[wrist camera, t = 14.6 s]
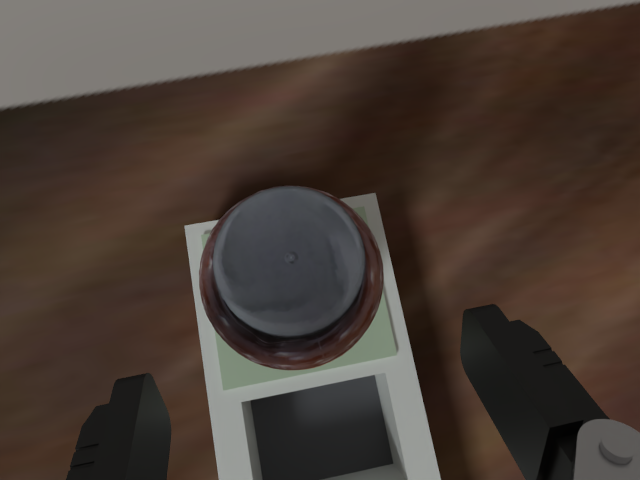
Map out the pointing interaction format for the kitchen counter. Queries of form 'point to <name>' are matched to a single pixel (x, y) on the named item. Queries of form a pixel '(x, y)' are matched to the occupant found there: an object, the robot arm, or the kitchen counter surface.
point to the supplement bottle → (291, 277)
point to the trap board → (319, 396)
